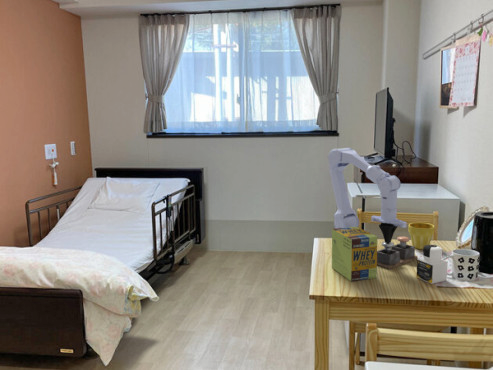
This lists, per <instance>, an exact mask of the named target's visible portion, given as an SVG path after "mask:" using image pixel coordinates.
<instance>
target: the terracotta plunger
mask: <svg viewBox="0 0 493 370" xmlns="http://www.w3.org/2000/svg"><path fill="white" fill-rule="evenodd" d="M396 239H397V241H398V242H399V243H400V248H403V249H405V248H406V244H407V243H408V242H410V237H408V236H405V235H403V236H398V237H397V238H396Z"/></svg>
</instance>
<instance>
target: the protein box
mask: <svg viewBox="0 0 493 370" xmlns="http://www.w3.org/2000/svg"><path fill="white" fill-rule="evenodd" d="M377 251H378V236H377V235H376V234H373V233H371V232H368V231H366V230H364V229H362V228H360V227H359V226H358V227H347V228H336V229H335V228H332V229H331V268H332V269H333V270H335V271H336V272H338V274H340V275H341V276H343V277H344V278H346V279H347V280H348V281H349V282H357V281H363V280H370V279H371V280H372V279H377V277H378V276H377V274H378V273H377V272H378V268H377V267H378V265H377Z"/></svg>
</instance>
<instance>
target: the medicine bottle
mask: <svg viewBox="0 0 493 370" xmlns="http://www.w3.org/2000/svg"><path fill="white" fill-rule="evenodd" d="M416 278H417V279H419V280H422V281H424V282H426V283H429V284H431V285H434V284H438V283H441V282H446V281H447V280H448V261H447V260H445V259H443V248H442V247H441V246H439V245H436V244H430V245H426V246H424V247H423V249H422V257H419V258H418V257H417V259H416Z"/></svg>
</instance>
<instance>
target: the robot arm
mask: <svg viewBox="0 0 493 370" xmlns="http://www.w3.org/2000/svg"><path fill="white" fill-rule="evenodd" d="M327 159H328V171H329V172H328V173H329V176H330V181H331V186H332V190H333V195H334V199H335V204H336V208H337V210H336V212H335V213H334V214H333V219H334V222H333V226H334V229H336V228H347V227H358V228H359V225H360V219H359V217H358V215H357V213H356V211H355V209H353V208H352V207H351V203H350V199H349V194H348V189H347V185H346V180H345V175H344V170H346V168H347V167H348V166H349V165H350V164H351V165H353V166H355V167H356V168H358V169H360V170H361V171H363V172H364V173H365V176H366V178H367V179H368V180H370V181H371V182H373V183H374V184H376V186H377V188H378V190H379V192H380V193H379V194H380V216H379V215H371V219H370V221H371V222H376V223H377V222H378V223H380V224H379V225H378V227H379V229H380V231H381V233H382V235H383V238H384V239H383V240H384V241H385V243H390V242H392V239H393V236H394V234H395V231H396V230H397V228H398V227H399V228H401V229H405V228H408V227H407V226H408V223H407V221H404V220H400V219H398V218H397V213H398V212H397V211H398V207H397V206H398V205H397V204H398V190H399V189H400V188H401V181H400V179H399V177H397V176H396V175H391V174H390V173H389V172H386V171H384V169H382V168H381V166H380V165H375V164H373V165H371V164H370V163H369V162H367V161H366V160H365V159H364V158H363V157H361V155H359V154H358V152H357V151H356V150H355V149H353V148H352V147H348V146H347V147H344V148H333V149H331V150H330V151H329V154H328V155H327Z"/></svg>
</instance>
